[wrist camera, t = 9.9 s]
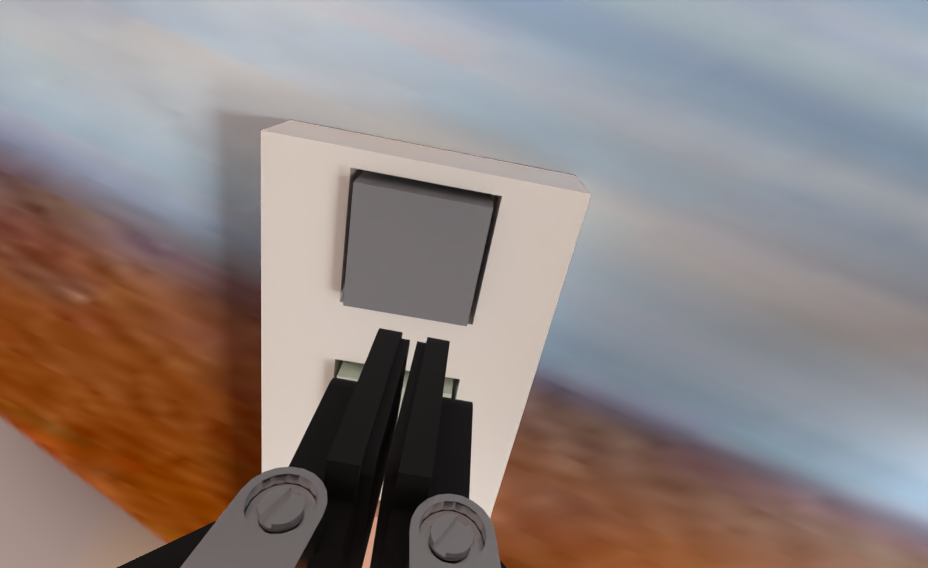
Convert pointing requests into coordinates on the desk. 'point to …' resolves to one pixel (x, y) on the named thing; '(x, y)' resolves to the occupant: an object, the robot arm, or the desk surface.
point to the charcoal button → (415, 247)
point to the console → (354, 329)
